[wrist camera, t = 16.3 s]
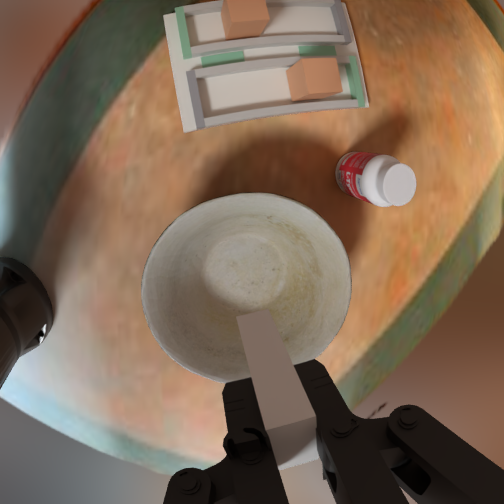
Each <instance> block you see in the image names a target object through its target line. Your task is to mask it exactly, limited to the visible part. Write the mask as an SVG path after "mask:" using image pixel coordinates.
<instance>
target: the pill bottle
mask: <svg viewBox="0 0 504 504" xmlns="http://www.w3.org/2000/svg"><path fill="white" fill-rule="evenodd" d="M335 176H336V181H337V184H338V186H339V187H340V189H341V190H342V191H343V192H345V193H346V194H348V195H350V196H353V197H356V198H358V199H361V200H363V201H366V202H369V203H371V204H374V205H376V206H380V207H389V206H392V205H395V206H402V205H405V204H406V203H408V202H409V201H410V200H411V199H412V197H413V196H414V193H415V190H416V178H415V174H414V172H413V171H412V169H411V168H410V167H409V166H407V165H405V164H403V163H400V162H399V161H398V160H397V159H396V158H394V157H392V156H389V155H384V154H375V153H366V152H350V153H347V154H346V155H344V156H343V157H342V158H341V159H340V160H339V162H338V164H337V166H336V171H335Z"/></svg>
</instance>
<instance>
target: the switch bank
mask: <svg viewBox="0 0 504 504" xmlns="http://www.w3.org/2000/svg"><path fill="white" fill-rule="evenodd" d="M223 1H224V0H219V1H212V2H205V3H199V4H193V5H187V6H182V7H177V8H175V13H171V14H167V15H163V16H164V23H165V29H166V36H167V42H168V48H169V54H170V59H171V65H172V71H173V77H174V82H175V88H176V93H177V98H178V104H179V109H180V114H181V119H182V124H183V129H184V133H188V132H192V131H197V130H201V129H206V128H211V127H216V126H221V125H226V124H231V123H237V122H242V121H248V120H254V119H261V118H267V117H274V116H282V115H289V114H298V113H307V112H316V111H327V110H340V109H355V108H367V107H369V103H368V98H367V92H366V87H365V82H364V77H363V72H362V67H361V63H360V58H359V54H358V50H357V45H356V41H355V37H354V33H353V30H352V26H351V22H350V19H349V15H348V12H347V8H346V5H345V3H342V2H341V0H265V1H266V5H267V9H268V13H269V17H270V20H269V22H268V23H267V25H266V26H265V28H264V30H263V31H262V33H261V34H260V36H259V37H254V38H244V39H236V40H228V41H226V38H225V33H224V28H223V23H222V18H221V10H222V5H223ZM306 58H336V60H337V65H338V69H339V74H340V79H341V84H342V89H343V92H341V93H338V94H335V95H331V96H328V97H325V98H322V99H311V100H301V101H292V100H291V95H290V89H289V84H288V79H287V75H286V71H287V70H288V69H289V68H290V67H292V66H293V65H294V64H295V63H297V62H298V61H299V60H300V59H306Z"/></svg>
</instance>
